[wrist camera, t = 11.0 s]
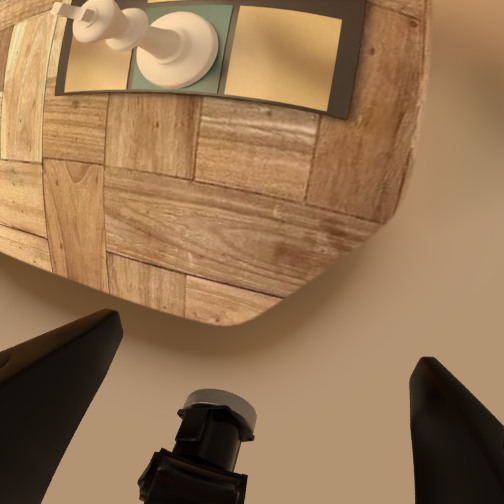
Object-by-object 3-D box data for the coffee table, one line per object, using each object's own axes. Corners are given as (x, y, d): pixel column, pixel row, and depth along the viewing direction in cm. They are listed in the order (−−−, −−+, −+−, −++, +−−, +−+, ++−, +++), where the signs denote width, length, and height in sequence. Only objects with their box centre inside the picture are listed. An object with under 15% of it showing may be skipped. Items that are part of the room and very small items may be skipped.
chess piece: (193, 101, 16) (71, 96, 7) (128, 73, 15) (-3, 64, 6) (234, 28, 14) (150, -53, 5) (164, 5, 13) (52, -53, 4)
